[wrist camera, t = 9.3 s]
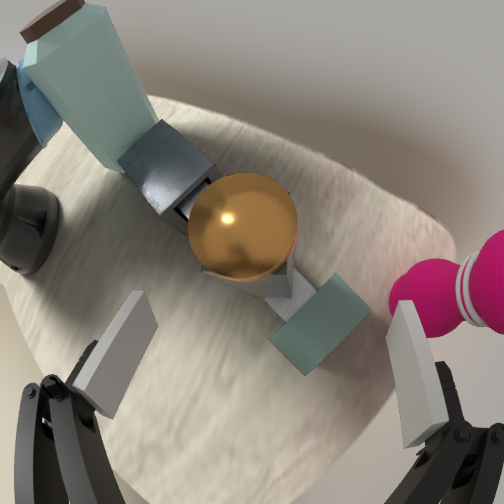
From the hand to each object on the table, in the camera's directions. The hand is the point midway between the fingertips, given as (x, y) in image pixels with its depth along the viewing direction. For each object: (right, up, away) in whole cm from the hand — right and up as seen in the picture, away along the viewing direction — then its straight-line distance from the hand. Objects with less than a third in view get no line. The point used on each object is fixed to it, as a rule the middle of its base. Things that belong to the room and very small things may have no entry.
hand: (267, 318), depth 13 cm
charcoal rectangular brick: (-9, +11, +19) cm, 23 cm away
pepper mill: (+16, -2, +12) cm, 20 cm away
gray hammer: (-1, +3, +14) cm, 14 cm away
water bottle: (-17, +18, +21) cm, 33 cm away
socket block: (+5, -4, +13) cm, 14 cm away
